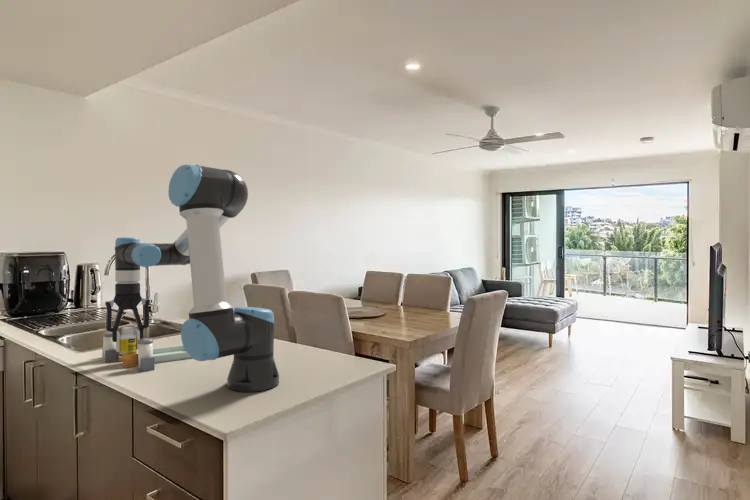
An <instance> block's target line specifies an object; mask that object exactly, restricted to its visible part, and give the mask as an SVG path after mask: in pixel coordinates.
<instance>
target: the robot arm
mask: <svg viewBox="0 0 750 500" xmlns="http://www.w3.org/2000/svg"><path fill="white" fill-rule="evenodd" d="M248 197H249V190H248V187H247V183H246V181H245V180H244V179H243V178H242V177H241V176H240V174H238V173H236V172H235V171H233V170H230V169H222V168H215V167H208V166H205V165H204V166H203V165H199V164H182V165H180V166H179V167H178V168H176V169H175V170H174V172H173V173H172V176H171V177H170V180H169V184H168V198H169V200H170V203H171V204H172V205H174V206H176V207H178V209H179V215H180V216H181V217H182V218H183V219H184V220H185V222H186V223H185V224H186V229H185V230H184V231H183V232H182V233H181V234H180V235H179V236H178V238H177V239H176V240H175V241H174V242H172V243H170V242H169V243H157V242H156V243H154V242H153V243H150V242H149V243H148V242H147V243H146V242H143V243H141V241H140V238H139V237H116V239H115V245H114V256H115V257H114V258H115V259H114V265H115V268H114V270H115V271H114V272H115V274H114V275H115V276H114V278H115V279H114V280H115V282H116V283H115V284H114V286H115V287H114V298H113V299H112V300H109V301H107V300H106V301H105V302H104V304H105V307H106V319H105V321H106V322H105V330H106V332H112V340H113V342H116V351H117V352H120V335H121V334H120V331H118V329H119V327H120V324H121V321H122V316H123V315H124V314H123V313H124V311H127V310H132V313H133V316H134V319H135V322H136V326H137V329H135V334H136V335H137V351H138V340H139V339H143V338H144V330H145V329H147V328H149V327H150V319H149V317H150V315H149V305H150V302H151V300H150V299H148V298H145V297H144V298H143V297H142V295H141V283H140V281H141V267H143V268H147V267H149V268H150V267H153V266H154V267H157V266H159V267H160V266H186V265H189V266H190V276H191V287H192V297H193V299H192V300H193V307H191V309H189V311H188V319H186V320H185V321H184V322H183V324H182V325H181V327H182V328H181V330H180V339H181V342H182V345H183V346H184V348H185V350H186V352H187V353H188V354H189V356H190V357H191V358H190V359H193V360H195V361H198V362H207V361H215V360H217V359H219V358H223V357H224V358H225V357H228V356H229V357H230V356H233V359H232V360H233V361H232V363H231V365H230V366H231V367H230V369H229V372H228V376H227V378H226V380H227V381H226V385H227V387H226V388H228V389H229V390H231V391H234V392H242V393H243V392H244V393H253V392H254V393H255V392H263V391H267V389H268V390H270V388H271V389H273V388H275V387H277V386H278V385H279V384H280V373H279V371H278V368H277V364H276V361H275V358H274V354H275V353H274V351H275V349H274V347H275V346H274V345H275V344H274V342H275V340H274V339H275V325H276V324H275V317H274V316H275V315H274V312H273V310H272V309H269V308H263V307H256V306H236V307H233V306H232V305H231V304H230V303H229V302H228V301H227V292H226V283H225V272H224V271H225V270H224V262H223V259H224V258H223V251H222V250H223V249H222V240H221V230H220V229H221V227H222V226H223V225H224V224H226V222H227V221H229V220H230V219H234V218H236V217H237V216H238V215H239V214H240V213H241V212H242V211H243V210H244V208H245V206H246V205H247V202H248ZM140 303H141V304H142V312H143V313H142V314H143V323H142V319H141V317H140V313H139V310H138V305H140ZM114 304H115V305H116V306H117V307H118V308H117V313H116V316H115V320H114V323H113V326H112V317H113V316H112V315H113V312H112V311H113V307H114ZM276 385H277V386H276Z"/></svg>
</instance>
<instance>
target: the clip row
mask: <svg viewBox="0 0 750 500" xmlns="http://www.w3.org/2000/svg"><path fill="white" fill-rule="evenodd" d="M101 352H102V354H101V358H102V357H103V345H102V351H101ZM111 362H112V363H113V362H122V368H129V367H138V353H137V354H136V353H135V354H126V355H123V358H120V357H119V352H117V351H116V349H112V350H105V361H104V363H111ZM155 364H156V363H155V357H149V358H141V362H140V369H139V370H140V372H147V371H153V370H155V367H156V365H155Z"/></svg>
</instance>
